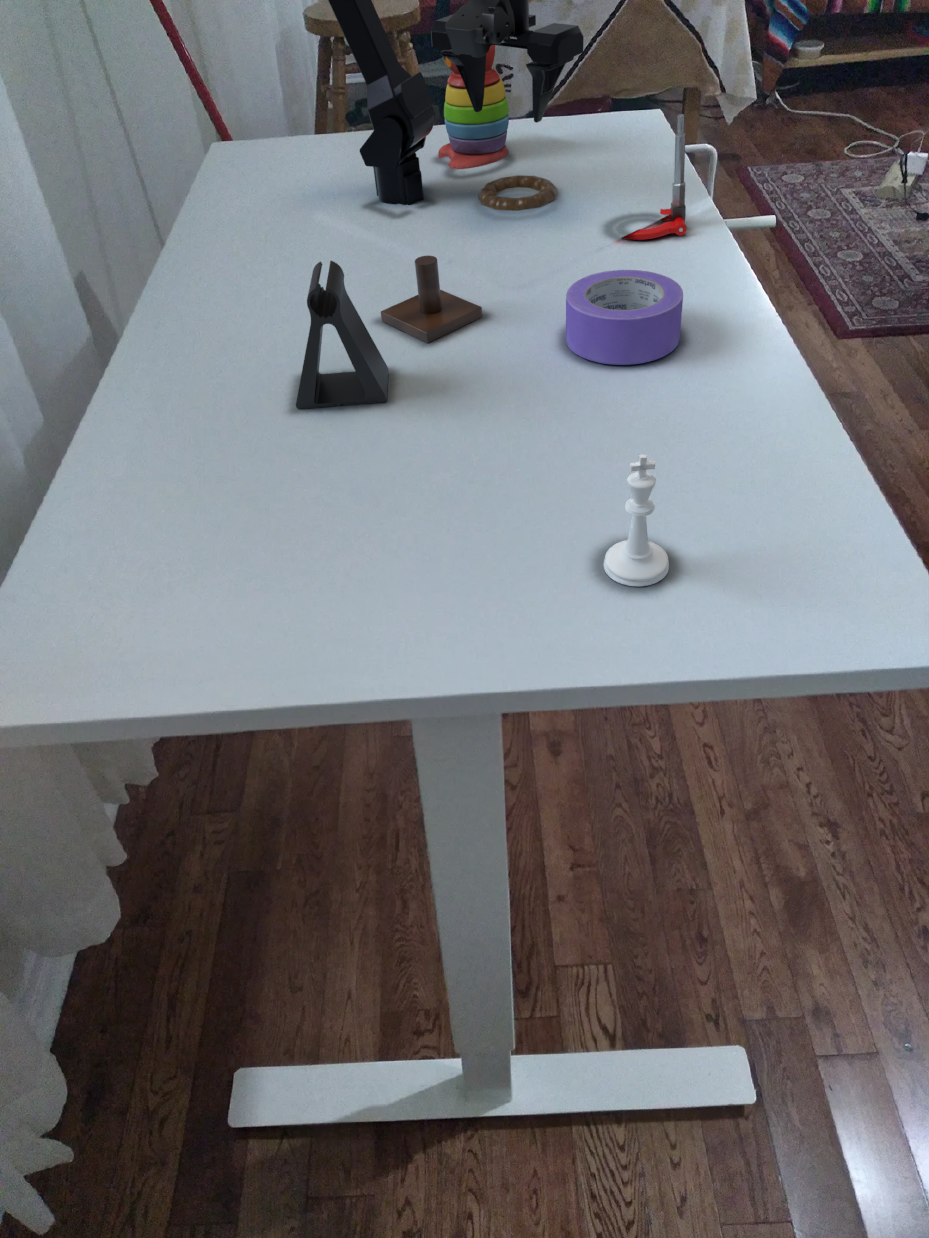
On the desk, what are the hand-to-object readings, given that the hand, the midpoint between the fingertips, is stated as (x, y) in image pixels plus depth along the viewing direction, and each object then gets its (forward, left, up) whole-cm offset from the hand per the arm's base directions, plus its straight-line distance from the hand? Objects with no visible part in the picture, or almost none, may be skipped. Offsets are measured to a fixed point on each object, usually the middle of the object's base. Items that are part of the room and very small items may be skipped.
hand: (507, 116), depth 120 cm
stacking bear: (-19, +11, -12) cm, 25 cm away
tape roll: (+34, -17, -12) cm, 40 cm away
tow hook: (+17, +7, -12) cm, 22 cm away
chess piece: (+59, -44, -12) cm, 74 cm away
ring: (-2, +3, -11) cm, 12 cm away
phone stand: (+20, -43, -12) cm, 49 cm away
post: (+15, -27, -12) cm, 33 cm away
